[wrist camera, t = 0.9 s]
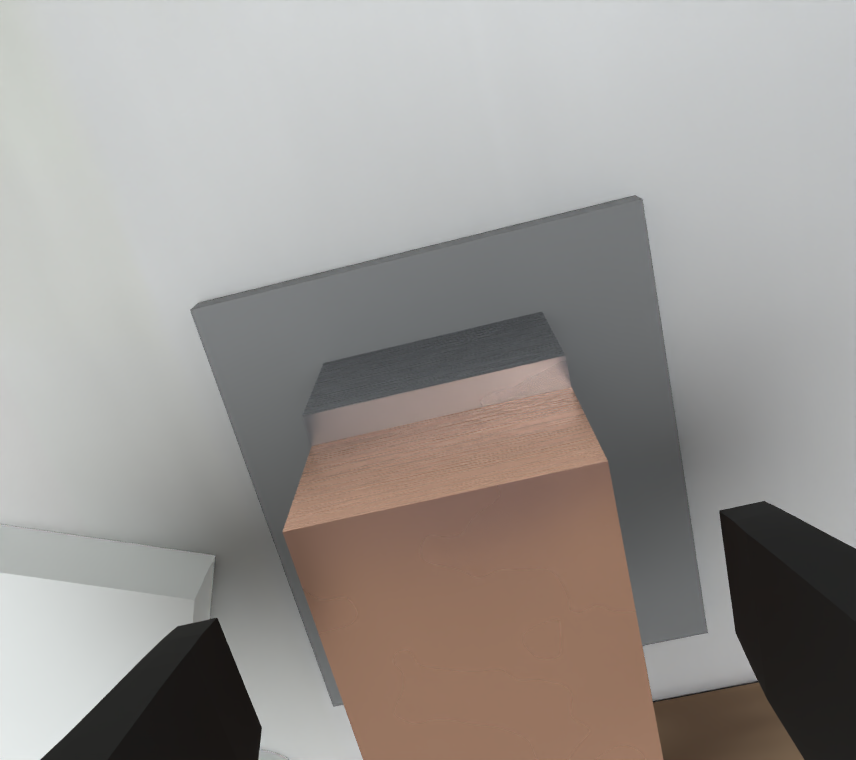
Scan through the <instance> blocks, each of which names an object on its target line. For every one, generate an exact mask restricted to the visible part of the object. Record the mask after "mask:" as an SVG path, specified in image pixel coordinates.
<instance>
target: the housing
mask: <svg viewBox="0 0 856 760" xmlns="http://www.w3.org/2000/svg"><path fill="white" fill-rule="evenodd" d="M302 417H303V420H304V423H305V427H306V430H307V433H308V436H309V439H310V442H311V445H312V447H311V450H310V453H309V455H308V458H307V461H306V464H305V467H304V470H303V473H302V476H301V479H300V482H299V485H298V488H297V491H296V494H295V497H294V500H293V502H292V505H291V508H290V511H289V514H288V517H287V520H286V523H285V526H284V529H283V535H284V538H285V541H286V544H287V546H288V549H289V552H290V555H291V558H292V560H293V563H294V566H295V569H296V572H297V575H298V577H299V580H300V583H301V586H302V589H303V591H304V594H305V597H306V600H307V603H308V606H309V608H310V611H311V614H312V617H313V620H314V622H315V625H316V628H317V631H318V634H319V636H320V639H321V642H322V645H323V648H324V651H325V653H326V656H327V659H328V662H329V665H330V667H331V670H332V673H333V676H334V679H335V681H336V684H337V687H338V690H339V693H340V696H341V698H342V701H343V704H344V707H345V710H346V712H347V715H348V718H349V721H350V724H351V726H352V729H353V732H354V735H355V738H356V741H357V743H358V746H359V749H360V752H361V755H362V757H363V760H663V755H662V749H661V744H660V738H659V733H658V728H657V722H656V717H655V712H654V706H653V701H652V695H651V690H650V685H649V679H648V674H647V669H646V663H645V658H644V652H643V647H642V642H641V636H640V631H639V626H638V620H637V615H636V609H635V604H634V599H633V593H632V588H631V583H630V577H629V572H628V566H627V561H626V556H625V550H624V545H623V540H622V534H621V529H620V523H619V518H618V513H617V507H616V502H615V497H614V491H613V486H612V480H611V475H610V470H609V464H608V460H607V458H606V456H605V454H604V452H603V450H602V448H601V446H600V444H599V442H598V440H597V438H596V436H595V434H594V432H593V430H592V428H591V426H590V424H589V422H588V420H587V418H586V415H585V413H584V411H583V409H582V407H581V405H580V403H579V401H578V399H577V397H576V395H575V393H574V391H573V389H572V387H571V382H570V377H569V372H568V367H567V362H566V357H565V354H564V352H563V350H562V348H561V346H560V345H559V343H558V341H557V339H556V337H555V335H554V333H553V331H552V329H551V327H550V326H549V324H548V322H547V320H546V318H545V316H544V314H543V312H537V313H533V314H529V315H525V316H520V317H516V318H512V319H508V320H503V321H499V322H495V323H491V324H486V325H482V326H478V327H474V328H470V329H465V330H461V331H457V332H453V333H448V334H444V335H440V336H436V337H431V338H427V339H423V340H419V341H414V342H410V343H406V344H402V345H397V346H393V347H389V348H385V349H381V350H376V351H372V352H368V353H364V354H359V355H355V356H351V357H347V358H342V359H338V360H334V361H330V362H325V363H323V366H322V368H321V371H320V373H319V376H318V378H317V381H316V383H315V386H314V388H313V391H312V393H311V396H310V398H309V400H308V403H307V405H306V408H305V410H304V413H303V415H302Z"/></svg>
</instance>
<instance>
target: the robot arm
mask: <svg viewBox="0 0 856 760" xmlns="http://www.w3.org/2000/svg"><path fill="white" fill-rule="evenodd" d="M719 513H720V521H721V528H722V535H723V543H724V550H725V558H726V565H727V572H728V580H729V587H730V594H731V602H732V609H733V616H734V624H735V631H736V634H737V637H738V639H739V641H740V643H741V645H742V647H743V650H744V652H745V654H746V656H747V658H748V661H749V663H750V665H751V667H752V669H753V671H754V673H755V675H756V678H757V680H758V682H759V684H760V686H761V688H762V690H763V692H764V694H765V696H766V698H767V700H768V702H769V703H770V705H771V707H772V708H773V710H774V712H775V713H776V715H777V716H778V718H779V720H780V721H781V723H782V725H783V726H784V728H785V729H786V731H787V733H788V734H789V736H790V737H791V739H792V741H793V742H794V744H795V745H796V747H797V749H798V750H799V752H800V753H801V755H802V757H803V758H804V760H856V549H855V548H853V547H851V546H849V545H847V544H845V543H844V542H842V541H840V540H838V539H836V538H834V537H832V536H830V535H828V534H826V533H825V532H823V531H821V530H819V529H817V528H815V527H813V526H811V525H810V524H808V523H806V522H804V521H802V520H800V519H798V518H796V517H795V516H793V515H791V514H789V513H787V512H785V511H783V510H781V509H779V508H777V507H775V506H773V505H771V504H769V503H767V502H765V501H763V502H758V503H753V504H749V505H744V506H739V507H734V508H730V509H725V510H720V511H719ZM261 729H262V727H261V725H260V722H259V720H258V717H257V715H256V712H255V710H254V708H253V705H252V703H251V700H250V698H249V695H248V693H247V690H246V688H245V685H244V683H243V680H242V678H241V675H240V673H239V670H238V668H237V666H236V663H235V661H234V658H233V656H232V653H231V651H230V648H229V646H228V643H227V641H226V638H225V636H224V633H223V631H222V628H221V626H220V624H219V621H218V619H217V618H214V619H209V620H204V621H200V622H195V623H190V624H186V625H181V626H177V627H176V628H175V629H174V630H172V631H171V632H170V633H169V634H168V635H167V636H165V637H164V638H163V639H162V640H161V641H160V642H159V643H158V644H157V645H156V646H155V647H154V648H153V649H152V650H151V651H150V652H149V653H148V654H147V655H146V656H144V657H143V658H142V659H141V660H140V661H139V662H138V663H137V664H136V665H135V666H134V667H133V669H132V670H131V671H130V672H129V673H128V674H127V675H126V676H125V677H124V678H123V679H122V680H121V681H120V682H119V683H118V684H117V685H116V686H115V687H114V688H113V689H112V690H111V691H110V692H109V693H108V694H107V695H106V696H105V697H104V698H103V699H102V700H101V701H100V702H99V703H98V704H97V705H96V706H95V707H94V708H93V709H92V710H91V711H90V712H89V713H88V714H87V715H86V716H85V717H84V718H83V719H82V720H81V721H80V722H79V723H78V724H77V725H76V726H75V727H74V728H73V729H72V730H71V731H70V732H69V733H68V734H67V735H66V736H65V737H64V738H63V739H62V740H60V741H59V742H58V743H57V744H56V745H55V746H54V747H53V748H52V749H51V750H50V751H49V752H48V753H47V754H46V755H45V756H44V757H42V758H41V759H40V760H258V758H259V748H260V739H261Z"/></svg>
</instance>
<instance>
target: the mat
mask: <svg viewBox="0 0 856 760" xmlns="http://www.w3.org/2000/svg"><path fill="white" fill-rule="evenodd" d="M190 311H191V314H192V316H193V319H194V322H195V325H196V327H197V330H198V333H199V336H200V339H201V341H202V344H203V347H204V350H205V352H206V355H207V358H208V361H209V363H210V366H211V369H212V372H213V375H214V377H215V380H216V383H217V386H218V388H219V391H220V394H221V397H222V399H223V402H224V405H225V408H226V410H227V413H228V416H229V419H230V422H231V424H232V427H233V430H234V433H235V435H236V438H237V441H238V444H239V446H240V449H241V452H242V455H243V458H244V460H245V463H246V466H247V469H248V471H249V474H250V477H251V480H252V482H253V485H254V488H255V491H256V494H257V496H258V499H259V502H260V505H261V507H262V510H263V513H264V516H265V518H266V521H267V524H268V527H269V529H270V532H271V535H272V538H273V541H274V543H275V546H276V549H277V552H278V554H279V557H280V560H281V563H282V565H283V568H284V571H285V574H286V577H287V579H288V582H289V585H290V588H291V590H292V593H293V596H294V599H295V601H296V604H297V607H298V610H299V612H300V615H301V618H302V621H303V624H304V626H305V629H306V632H307V635H308V637H309V640H310V643H311V646H312V648H313V651H314V654H315V657H316V660H317V662H318V665H319V668H320V671H321V673H322V676H323V679H324V682H325V684H326V687H327V690H328V693H329V696H330V698H331V701H332V704H333V707H334V706H339V705H344V704H343V701H342V698H341V696H340V693H339V690H338V687H337V684H336V681H335V679H334V676H333V673H332V670H331V667H330V665H329V662H328V659H327V656H326V653H325V651H324V648H323V645H322V642H321V639H320V636H319V634H318V631H317V628H316V625H315V622H314V620H313V617H312V614H311V611H310V608H309V606H308V603H307V600H306V597H305V594H304V591H303V589H302V586H301V583H300V580H299V577H298V575H297V572H296V569H295V566H294V563H293V560H292V558H291V555H290V552H289V549H288V546H287V544H286V541H285V538H284V535H283V529H284V526H285V523H286V520H287V517H288V514H289V511H290V508H291V505H292V502H293V500H294V497H295V494H296V491H297V488H298V485H299V482H300V479H301V476H302V473H303V470H304V467H305V464H306V461H307V458H308V455H309V453H310V450H311V447H312V445H311V442H310V439H309V436H308V433H307V430H306V427H305V423H304V420H303V417H302V415H303V413H304V410H305V408H306V405H307V403H308V400H309V398H310V396H311V393H312V391H313V388H314V386H315V383H316V381H317V378H318V376H319V373H320V371H321V368H322V366H323V363H325V362H330V361H334V360H338V359H342V358H347V357H351V356H355V355H359V354H364V353H368V352H372V351H376V350H381V349H385V348H389V347H393V346H397V345H402V344H406V343H410V342H414V341H419V340H423V339H427V338H431V337H436V336H440V335H444V334H448V333H453V332H457V331H461V330H465V329H470V328H474V327H478V326H482V325H486V324H491V323H495V322H499V321H503V320H508V319H512V318H516V317H520V316H525V315H529V314H533V313H537V312H543V314H544V316H545V318H546V320H547V322H548V324H549V326H550V327H551V329H552V331H553V333H554V335H555V337H556V339H557V341H558V343H559V345H560V346H561V348H562V350H563V352H564V354H565V357H566V362H567V367H568V372H569V377H570V382H571V387H572V389H573V391H574V393H575V395H576V397H577V399H578V401H579V403H580V405H581V407H582V409H583V411H584V413H585V415H586V418H587V420H588V422H589V424H590V426H591V428H592V430H593V432H594V434H595V436H596V438H597V440H598V442H599V444H600V446H601V448H602V450H603V452H604V454H605V456H606V458H607V460H608V464H609V470H610V475H611V480H612V486H613V491H614V497H615V502H616V507H617V513H618V518H619V523H620V529H621V534H622V540H623V545H624V550H625V556H626V561H627V566H628V572H629V577H630V583H631V588H632V593H633V599H634V604H635V609H636V615H637V620H638V626H639V631H640V636H641V642H642V646H643V645H648V644H653V643H659V642H664V641H669V640H674V639H679V638H684V637H689V636H694V635H699V634H704V633H708V632H707V625H706V619H705V612H704V605H703V599H702V592H701V585H700V579H699V572H698V565H697V559H696V552H695V545H694V539H693V532H692V525H691V519H690V512H689V505H688V499H687V492H686V486H685V479H684V472H683V466H682V459H681V452H680V446H679V439H678V432H677V426H676V419H675V412H674V406H673V399H672V392H671V386H670V379H669V372H668V366H667V359H666V353H665V346H664V339H663V333H662V326H661V319H660V313H659V306H658V299H657V293H656V286H655V279H654V273H653V266H652V259H651V253H650V246H649V239H648V233H647V226H646V219H645V213H644V206H643V200H642V199H641V198H639V197H637V196H631V197H627V198H623V199H619V200H615V201H611V202H607V203H603V204H599V205H595V206H591V207H587V208H583V209H579V210H575V211H570V212H566V213H562V214H558V215H554V216H550V217H546V218H542V219H538V220H534V221H530V222H526V223H522V224H518V225H514V226H510V227H505V228H501V229H497V230H493V231H489V232H485V233H481V234H477V235H473V236H469V237H465V238H461V239H457V240H453V241H449V242H445V243H441V244H436V245H432V246H428V247H424V248H420V249H416V250H412V251H408V252H404V253H400V254H396V255H392V256H388V257H384V258H380V259H376V260H371V261H367V262H363V263H359V264H355V265H351V266H347V267H343V268H339V269H335V270H331V271H327V272H323V273H319V274H315V275H311V276H307V277H302V278H298V279H294V280H290V281H286V282H282V283H278V284H274V285H270V286H266V287H262V288H258V289H254V290H250V291H246V292H242V293H237V294H233V295H229V296H225V297H221V298H217V299H213V300H209V301H205V302H201V303H198V304H197V305H196V306H194V307H193V308H192V309H191V310H190Z"/></svg>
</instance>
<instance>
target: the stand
mask: <svg viewBox="0 0 856 760" xmlns="http://www.w3.org/2000/svg"><path fill="white" fill-rule="evenodd" d="M653 706H654V712H655V717H656V722H657V728H658V733H659V738H660V744H661V749H662V755H663V760H804V758H803V757H802V755H801V753H800V752H799V750H798V749H797V747H796V745H795V744H794V742H793V741H792V739H791V737H790V736H789V734H788V733H787V731H786V729H785V728H784V726H783V725H782V723H781V721H780V720H779V718H778V716H777V715H776V713H775V712H774V710H773V708H772V707H771V705H770V703H769V702H768V700H767V698H766V696H765V694H764V692H763V690H762V688H761V686H760V684H759V682H758V683H752V684H747V685H742V686H737V687H731V688H726V689H721V690H716V691H710V692H705V693H700V694H695V695H690V696H684V697H679V698H674V699H669V700H663V701H658V702H653Z"/></svg>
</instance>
